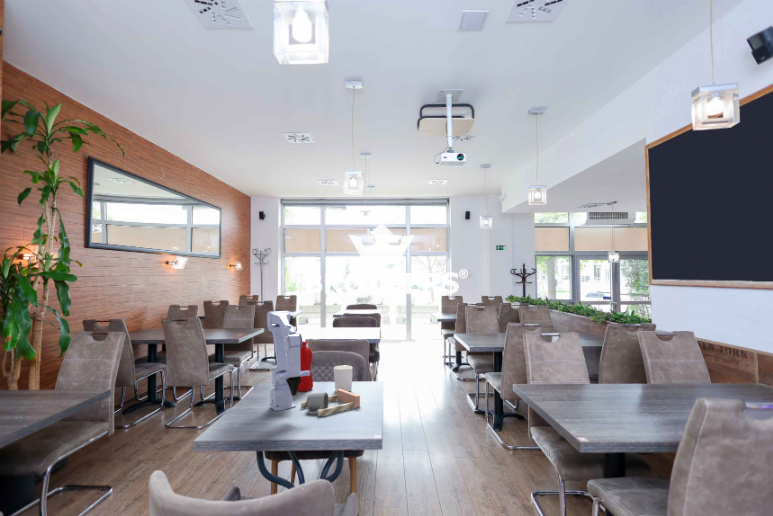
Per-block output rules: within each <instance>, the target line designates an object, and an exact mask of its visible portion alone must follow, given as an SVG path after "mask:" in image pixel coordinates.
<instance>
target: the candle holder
mask: <svg viewBox="0 0 773 516" xmlns="http://www.w3.org/2000/svg"><path fill="white" fill-rule="evenodd" d="M353 369H354V368H353V366H352V365H337V366H336V365H335V366H334V367H333V377H334V389H335V390H334V391H335V393H337V389H343V390H345V391H348V392H349V391H350V392H351V391H352V390H353V389H352V387H353Z"/></svg>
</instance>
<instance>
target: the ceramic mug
mask: <svg viewBox="0 0 773 516" xmlns="http://www.w3.org/2000/svg"><path fill="white" fill-rule="evenodd" d="M328 396H329V394H328V393H327V392H312V393H309V394H308V396H307V397H306V401H307V412H308V414H309V415H311V414H315V415H318V410H321V409H326V408H329V404H330V403H329V397H328ZM313 410H314V411H313Z"/></svg>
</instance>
